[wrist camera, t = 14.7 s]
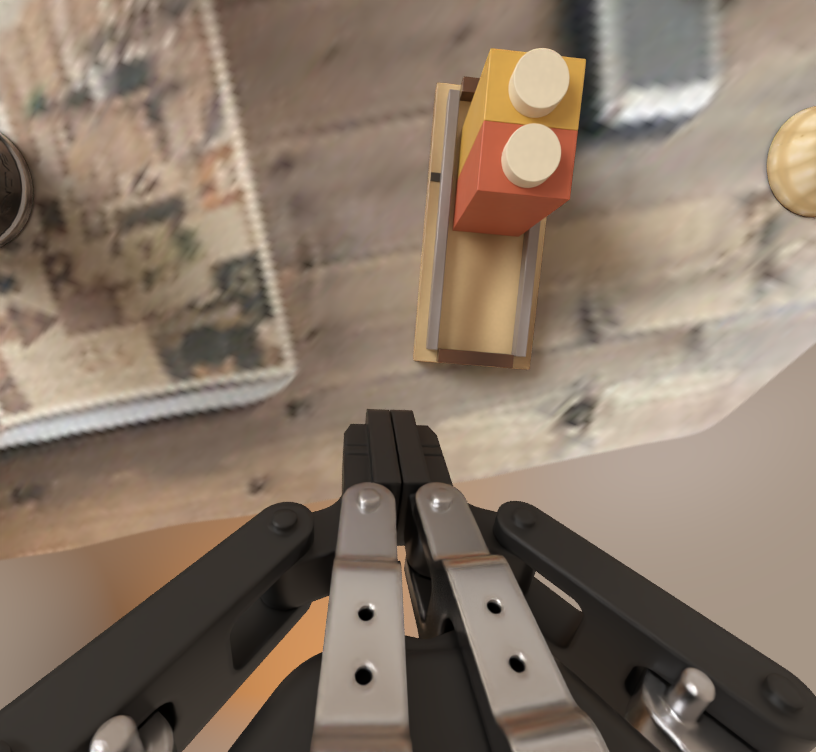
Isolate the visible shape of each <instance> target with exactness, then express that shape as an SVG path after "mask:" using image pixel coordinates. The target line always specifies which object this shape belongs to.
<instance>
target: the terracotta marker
mask: <svg viewBox="0 0 816 752" xmlns="http://www.w3.org/2000/svg"><path fill="white" fill-rule="evenodd" d="M577 133H578V131H574V130H565V129H556V128H548V127H546V126H544V125H542V124H536V123H532V124H527V125H519V124H510V123H500V122H491V121H484V122H483V124H482V126H481V128H480V131H479V133H478V135H477V137H476V140H475V142H474V144H473V146H472V149H471V151H470V153H469V155H468V158H467V160H466V162H465V164H464V166H463V169H462V171H461V173H460V175H459V178H458V180H457V184H456V195H455V206H454V217H453V228H452V230H453V231H463V232H473V233H484V234H495V235H505V236H516V237H519V236H520V235H522V234H523V233H525V232H526V231H527V230H529V229H530V228H531V227H533V226H534V225H536V224H537V223H538V222H540V221H541V220H542V219H544V218H545V217H546V216H548V215H549V214H551V213H552V212H553V211H555V210H556V209H557V208H559V207H560V206H562V205H563V204H564V203H566V202H567V201H568V200H570V193H571V185H572V176H573V168H574V159H575V150H576V142H577Z"/></svg>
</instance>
